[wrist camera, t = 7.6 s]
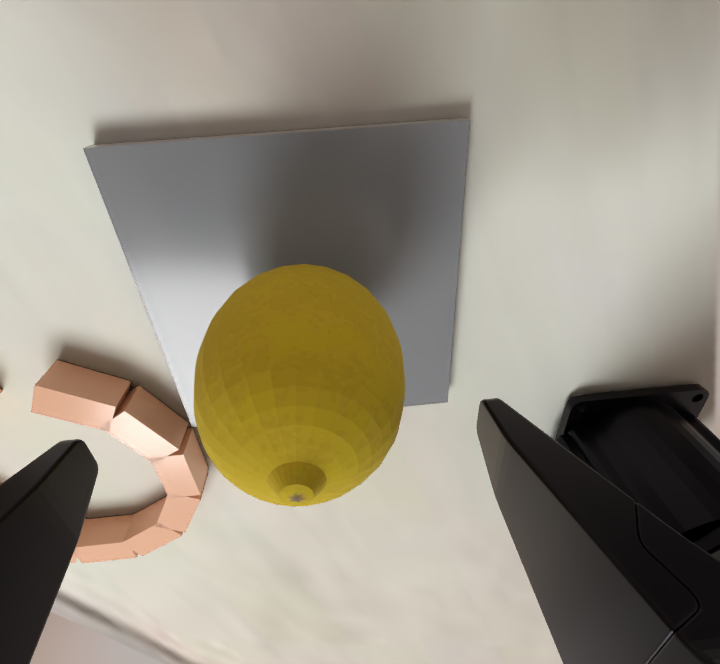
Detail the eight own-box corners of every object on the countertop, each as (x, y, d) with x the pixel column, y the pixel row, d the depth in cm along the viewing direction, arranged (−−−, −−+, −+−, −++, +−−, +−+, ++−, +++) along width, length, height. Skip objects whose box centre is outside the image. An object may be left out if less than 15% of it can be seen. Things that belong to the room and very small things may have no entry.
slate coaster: (464, 117, 13) (470, 119, 12) (444, 393, 19) (447, 402, 18) (92, 144, 12) (82, 148, 12) (195, 416, 18) (191, 426, 18)
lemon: (222, 352, 16) (149, 567, 9) (234, 209, 13) (140, 368, 6) (363, 373, 17) (392, 578, 10) (404, 245, 14) (479, 412, 7)
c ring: (162, 350, 16) (149, 374, 15) (228, 520, 22) (223, 548, 21) (-142, 377, 16) (-182, 405, 14) (12, 543, 22) (-7, 572, 21)
